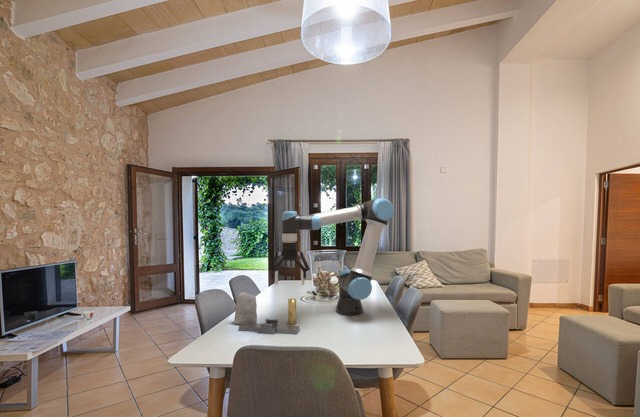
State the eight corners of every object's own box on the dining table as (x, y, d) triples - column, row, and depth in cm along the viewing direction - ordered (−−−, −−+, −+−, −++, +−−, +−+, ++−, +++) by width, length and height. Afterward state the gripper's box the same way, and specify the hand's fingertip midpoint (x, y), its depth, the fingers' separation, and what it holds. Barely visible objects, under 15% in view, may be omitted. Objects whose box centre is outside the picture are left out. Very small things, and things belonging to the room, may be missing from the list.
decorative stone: (257, 321, 162) (258, 291, 162) (254, 325, 156) (255, 294, 156) (236, 321, 162) (237, 291, 163) (232, 325, 156) (233, 294, 157)
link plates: (300, 329, 150) (300, 320, 150) (296, 335, 142) (296, 326, 142) (244, 326, 155) (244, 317, 155) (237, 331, 147) (237, 322, 147)
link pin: (297, 323, 160) (297, 298, 160) (295, 325, 156) (295, 300, 156) (289, 322, 160) (289, 298, 161) (287, 325, 156) (287, 300, 157)
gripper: (315, 241, 163) (315, 283, 162) (268, 241, 167) (268, 282, 166) (312, 242, 155) (312, 286, 154) (263, 242, 159) (263, 285, 159)
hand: (289, 284), depth 160 cm, fingers open, 13 cm apart
